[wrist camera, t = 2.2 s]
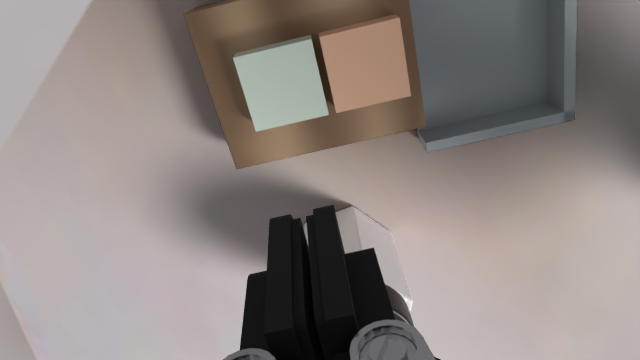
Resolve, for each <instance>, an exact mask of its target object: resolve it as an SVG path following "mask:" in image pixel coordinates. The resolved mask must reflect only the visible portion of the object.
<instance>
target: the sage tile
mask: <svg viewBox="0 0 640 360" xmlns="http://www.w3.org/2000/svg"><path fill="white" fill-rule="evenodd" d="M233 60H234V63H235V66H236V69H237V73H238V76H239V79H240V82H241V86H242V89H243V92H244V95H245V99H246V102H247V105H248V108H249V111H250V115H251V118H252V121H253V124H254V128H255V131H256V132H257V131H261V130H266V129H270V128H274V127H279V126H283V125H287V124H292V123H296V122H300V121H305V120H309V119H313V118H318V117H322V116H326V115H329V113H328V107H327V103H326V98H325V94H324V90H323V85H322V81H321V76H320V72H319V68H318V63H317V59H316V55H315V50H314V46H313V42H312V37H311V35H308V36H303V37H299V38H295V39H291V40H287V41H283V42H279V43H275V44H271V45H267V46H262V47H258V48H254V49H250V50H246V51H242V52H238V53H236V54H235V56H234V57H233Z"/></svg>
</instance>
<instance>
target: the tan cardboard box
mask: <svg viewBox="0 0 640 360" xmlns="http://www.w3.org/2000/svg"><path fill="white" fill-rule="evenodd" d="M394 14H395V15H397V16H398V17H400V23H401V30H402V37H403V44H404V50H405V57H406V64H407V71H408V78H409V85H410V92H411V96H409V97H404V98H400V99H396V100H391V101H387V102H383V103H378V104H374V105H370V106H365V107H361V108H357V109H352V110H348V111H344V112H339V113H336V110H335V105H334V101H333V96H332V92H331V87H330V83H329V78H328V74H327V70H326V65H325V61H324V56H323V52H322V47H321V43H320V38H319V33H320V32H324V31H328V30H332V29H336V28H340V27H345V26H349V25H353V24H357V23H361V22H365V21H369V20H373V19H377V18H382V17H386V16H390V15H394ZM184 18H185V21H186V24H187V27H188V30H189V33H190V36H191V39H192V41H193V44H194V47H195V50H196V53H197V56H198V59H199V62H200V65H201V68H202V71H203V74H204V76H205V79H206V82H207V85H208V88H209V91H210V94H211V97H212V100H213V103H214V106H215V108H216V111H217V114H218V117H219V120H220V123H221V126H222V129H223V132H224V135H225V138H226V141H227V143H228V146H229V149H230V152H231V155H232V158H233V161H234V164H235V167H236V169H240V168H244V167H249V166H253V165H258V164H262V163H267V162H271V161H275V160H280V159H284V158H289V157H293V156H298V155H302V154H306V153H311V152H315V151H320V150H324V149H329V148H333V147H338V146H342V145H346V144H351V143H355V142H360V141H364V140H369V139H373V138H377V137H382V136H386V135H391V134H395V133H400V132H404V131H408V130H413V129H417V128H422V127H426V122H425V114H424V107H423V99H422V92H421V85H420V77H419V70H418V62H417V55H416V47H415V40H414V33H413V25H412V18H411V10H410V3H409V0H225V1H221V2H217V3H213V4H209V5H205V6H201V7H197V8H195V9H193V10H191V11H189V12H188V13H186V14H184ZM308 35H311V37H312V42H313V46H314V50H315V55H316V59H317V63H318V68H319V72H320V76H321V81H322V85H323V90H324V94H325V98H326V103H327V107H328V113H329V115H326V116H322V117H318V118H313V119H309V120H305V121H300V122H296V123H292V124H287V125H283V126H279V127H274V128H270V129H266V130H261V131H257V132H256V131H255V128H254V124H253V121H252V118H251V115H250V111H249V108H248V105H247V102H246V99H245V95H244V92H243V89H242V86H241V82H240V79H239V76H238V73H237V69H236V66H235V63H234V60H233V57H234V56H235V54H236V53H238V52H242V51H246V50H250V49H254V48H258V47H262V46H267V45H271V44H275V43H279V42H283V41H287V40H291V39H295V38H299V37H303V36H308Z"/></svg>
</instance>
